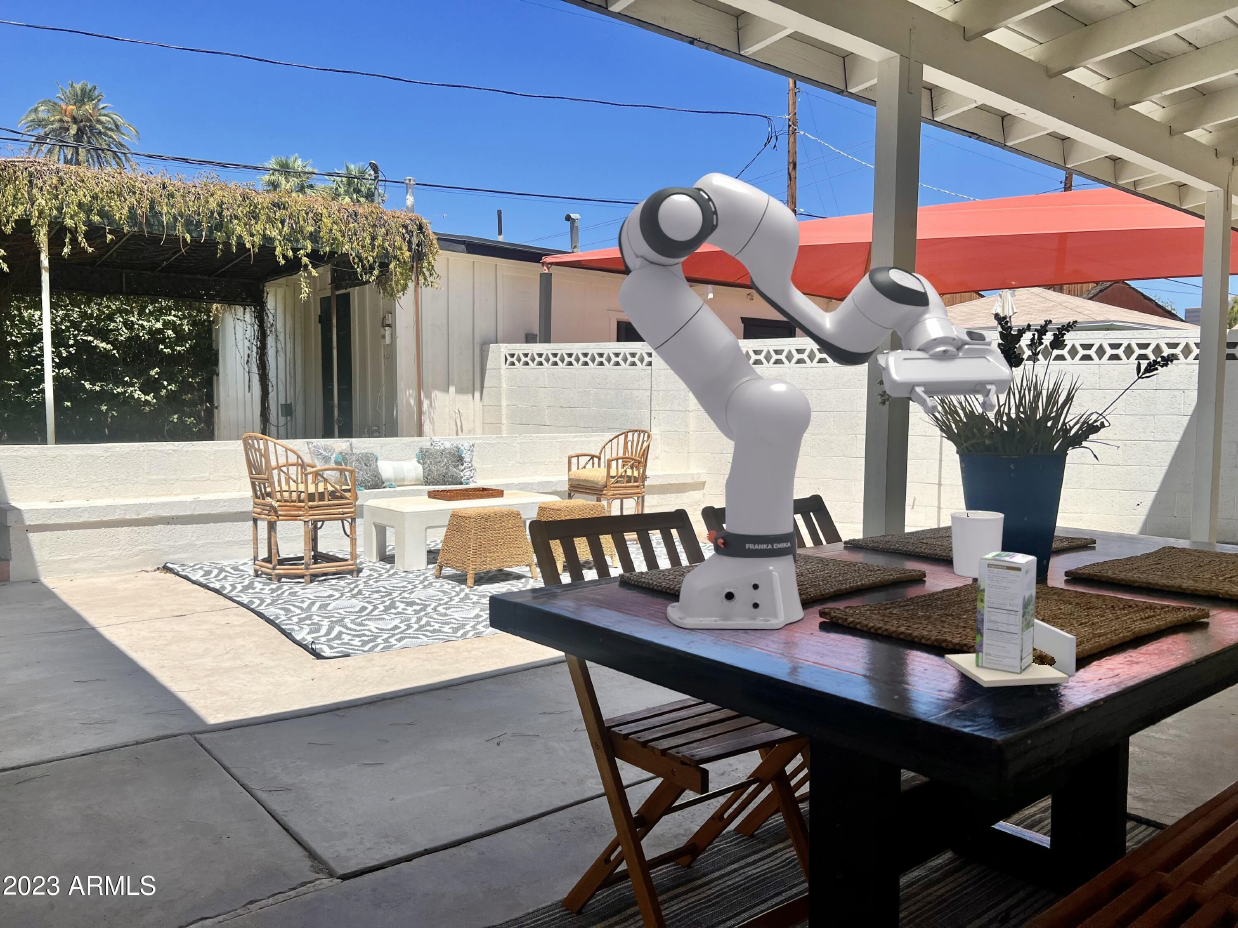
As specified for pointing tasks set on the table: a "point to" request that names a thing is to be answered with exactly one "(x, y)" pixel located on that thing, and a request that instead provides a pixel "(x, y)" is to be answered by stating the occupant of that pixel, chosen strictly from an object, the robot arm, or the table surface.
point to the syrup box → (1005, 611)
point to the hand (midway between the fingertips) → (961, 410)
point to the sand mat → (1005, 673)
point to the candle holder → (974, 539)
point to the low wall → (1056, 646)
